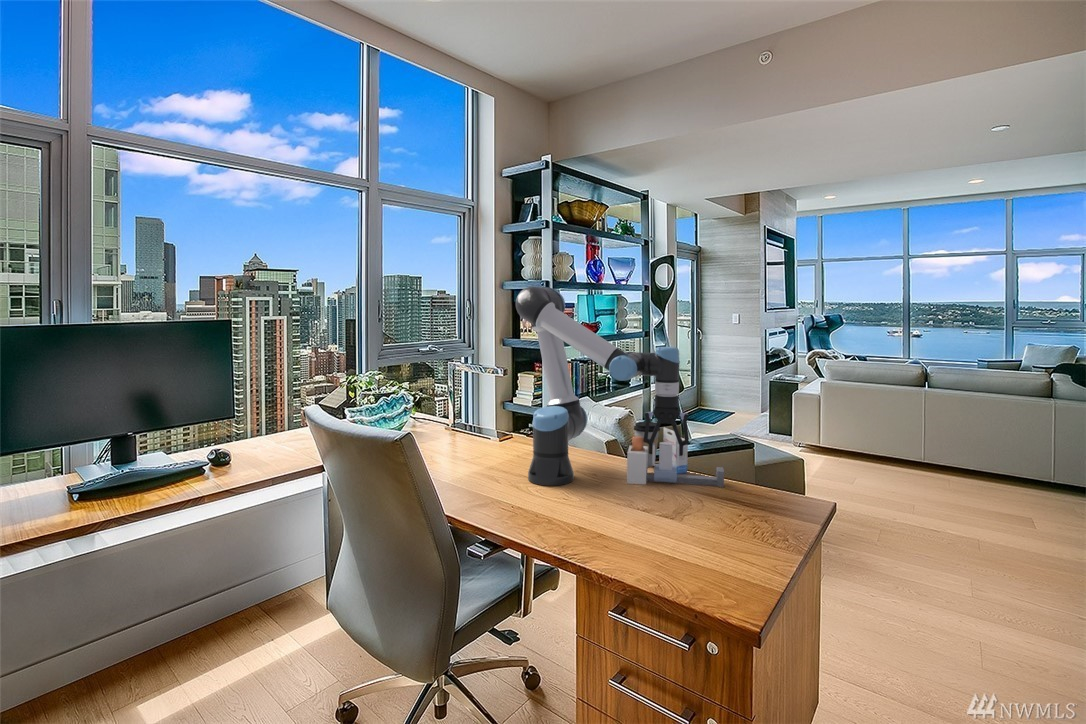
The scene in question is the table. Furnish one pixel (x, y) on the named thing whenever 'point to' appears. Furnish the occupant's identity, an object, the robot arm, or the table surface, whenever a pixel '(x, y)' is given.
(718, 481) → the rail
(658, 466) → the carriage
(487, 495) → the table surface
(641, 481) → the cabinet
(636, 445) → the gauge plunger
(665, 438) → the ink box
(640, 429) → the coffee cup
